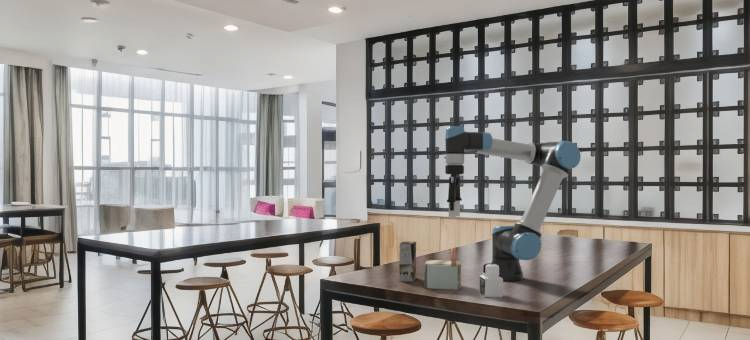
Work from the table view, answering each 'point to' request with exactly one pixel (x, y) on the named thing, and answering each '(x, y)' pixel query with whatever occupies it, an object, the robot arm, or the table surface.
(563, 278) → the table surface
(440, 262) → the cubby
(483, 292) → the medicine bottle
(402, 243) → the coffee box
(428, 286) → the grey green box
